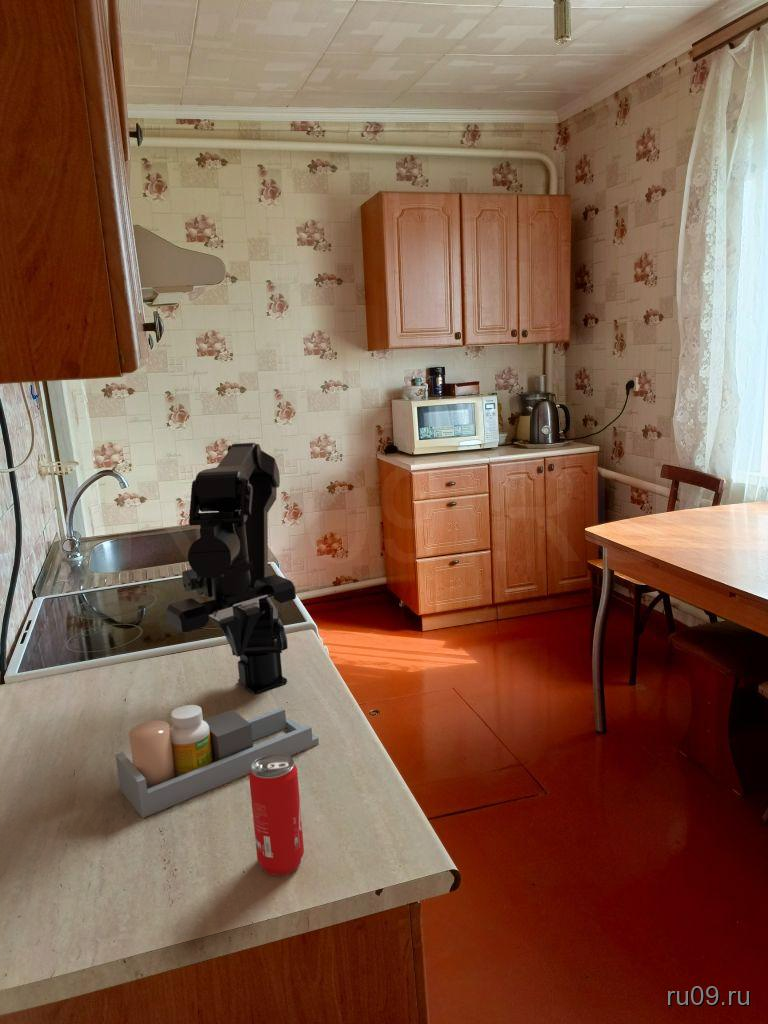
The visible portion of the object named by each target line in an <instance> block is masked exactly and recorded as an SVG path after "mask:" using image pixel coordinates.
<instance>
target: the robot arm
mask: <svg viewBox="0 0 768 1024" xmlns="http://www.w3.org/2000/svg"><path fill="white" fill-rule="evenodd" d="M280 482H281V477H280V470H279V467H278V464H277V461H276V459H275V457H273V456H272V455H269V454H268V453H267V452H265V451H263V450H262V448H261V445H260V444H259V443H256V442H244V443H232V444H231V445H228V446H227V452H226V454H225V455H224V456H223V458H222V460H221V461H220V462H219V464H217V466H216V467H212V468H211V467H210V468H207V469H203V470H201V471H198V473H197V474H196V476H195V479H194V480H193V481H192V483H191V488H190V490H191V492H190V504H189V517H188V525H189V526H190V527H191V526H192V527H193V526H200V528H199V536H198V537H197V539H196V540H194V541H193V542H192V544H191V545H190V547H189V549H188V553H187V561H188V565H189V566H190V568H191V569H187V570H184V571H181V578H182V585H183V588H184V591H185V592H187V593H189V592H192V591H195V590H196V594H197V596H201V595H204V596H205V597H207V598H212V599H211V600H208V601H204V602H202V603H201V602H199V601H197V600H196V599H194V598H192V597H190V598H186V599H183V600H180V601H176V602H172V603H169V604H168V607H167V608H166V610H165V616H166V624H168V625H169V626H171V627H173V628H175V629H177V630H178V631H180V632H182V633H189V632H192V631H197V630H199V629H202V628H205V627H206V626H207V624H208V623H209V621H210V622H211V623H214V624H215V625H216V626H218V627H219V628H220V630H221V631H222V632H223V635H224V637H225V639H226V641H227V642H228V644H229V647H230V648H231V653H232V656H236V657H239V660H238V662H237V668H238V676H239V677H238V679H237V683H239V684H240V685H241V686H243V687H244V688H246V689H247V690H249V691H250V692H251V693H253V694H258V693H261V692H264V691H267V690H270V689H272V688H275V687H278V686H281V685H283V684H284V685H285V684H286V683H288V679H287V678H286V677H284V676H283V669H282V667H283V666H282V657H281V654H283V652H284V651H286V650H288V648H289V646H288V637H287V633H286V630H285V629H286V628H285V627H284V625H283V622H282V620H281V618H279V617H278V616H279V615H278V613H279V612H278V609H277V607H276V605H275V604H274V602H273V601H272V599H271V598H270V597H273V599H274V601H276V602H278V603H279V604H283V603H286V602H289V601H292V600H296V599H297V591H296V586H295V584H294V582H293V581H292V580H291V579H288V578H286V577H283V576H280V575H278V574H273V575H269V549H268V548H269V543H268V542H269V541H268V540H269V538H268V536H269V535H268V534H269V533H268V532H269V531H268V528H269V527H268V526H269V525H268V520H269V519H268V513H269V511H270V510H271V509H272V506H273V505H274V504H275V502H276V500H277V488H280Z"/></svg>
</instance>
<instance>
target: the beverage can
mask: <svg viewBox="0 0 768 1024" xmlns="http://www.w3.org/2000/svg"><path fill="white" fill-rule="evenodd" d="M298 776H299V775H298V768H297V765H296V763H295V761H294V758H293V757H292V756H288V755H285V754H269V755H265V756H262V757H260V758H258V759H257V760H255V761H254V762H253V763H252V765H251V771H250V773H249V774H248V780H249V790H250V801H251V810H252V819H253V820H252V821H253V829H254V831H253V832H254V841H255V849H256V858H257V862H258V864H260V866H261V869H262V871H264V873H265V874H268V875H270V876H277V877H279V875H281V876H285V875H288V874H291V873H292V872H294V871H295V870H297V869H298V868H299V867H300V865H301V863H302V858H303V856H304V853H305V848H304V847H305V845H304V837H303V836H304V835H303V833H304V832H303V825H302V824H303V822H302V812H301V811H302V810H301V809H302V808H301V798H300V788H299V777H298Z"/></svg>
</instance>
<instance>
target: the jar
mask: <svg viewBox="0 0 768 1024" xmlns="http://www.w3.org/2000/svg"><path fill="white" fill-rule="evenodd" d="M170 728H171V727H170V724H169V723H168V722H166V721H164V720H159V719H158V720H147V721H144V722H141V723H139V724H137V725H134V726H133V727H132V728H131V729H130V730H129V731H128V737H129V738H128V740H129V745H130V746H129V747H130V751H131V753H130V754H131V759H132V760H131V762H132V763H133V765H134V766H135V767H136V768H137V769H138V771H139V772H140V773H141V774H142V775H143V776H144V778H145V779H146V785H147V789H148V788H151V787H153V786H156V785H158V784H161V783H164V782H166V781H169V780H171V779H174V778H176V777H175V769H174V761H173V753H172V744H171V736H170Z"/></svg>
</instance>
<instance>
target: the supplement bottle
mask: <svg viewBox="0 0 768 1024" xmlns="http://www.w3.org/2000/svg"><path fill="white" fill-rule="evenodd" d="M170 716H171V717H170V719H171V725H172V726H171V727H169V728H170V736H171V744H172V753H173V761H174V769H175V777H179V776H181V775H184V774H186V773H189V772H191V771H194V770H196V769H199V768H201V767H204V766H206V765H209V764H211V763H213V756H212V747H211V738H210V730H209V725H208V724H207V723H206V722H205V721H204V718H203V710H202V707H201V706H199V705H196V704H185V705H182V706H179V707H176V708H174V709H173V710H172V712H171V713H170Z"/></svg>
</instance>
